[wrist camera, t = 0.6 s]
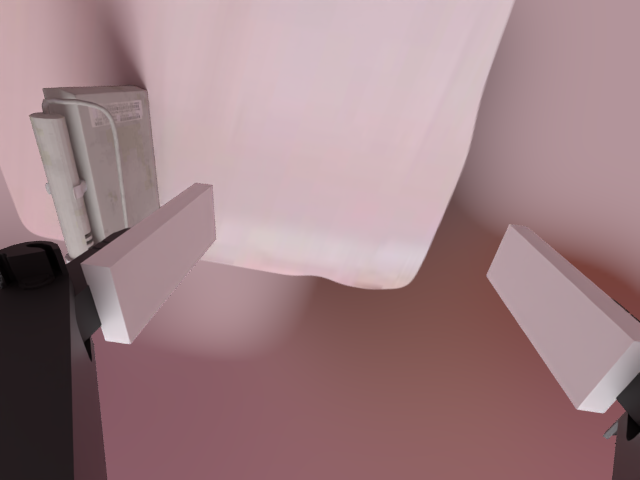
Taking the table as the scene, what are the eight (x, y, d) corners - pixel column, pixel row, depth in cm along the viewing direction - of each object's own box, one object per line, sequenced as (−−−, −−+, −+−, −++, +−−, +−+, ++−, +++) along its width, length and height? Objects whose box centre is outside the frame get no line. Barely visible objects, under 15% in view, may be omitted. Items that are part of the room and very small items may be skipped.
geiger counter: (-9, 82, 24) (67, 319, 36) (69, 96, 24) (120, 329, 36) (113, 81, 36) (140, 258, 48) (165, 90, 36) (180, 265, 48)
